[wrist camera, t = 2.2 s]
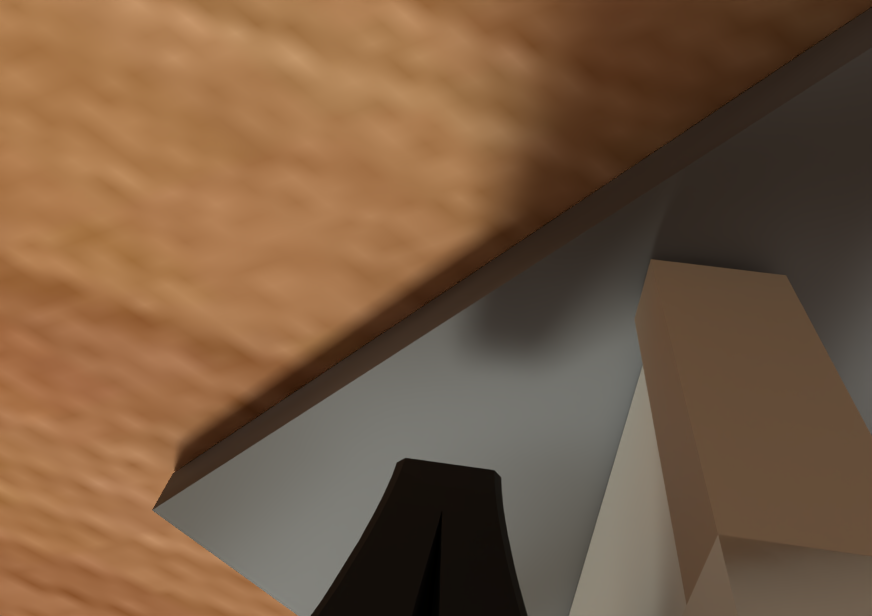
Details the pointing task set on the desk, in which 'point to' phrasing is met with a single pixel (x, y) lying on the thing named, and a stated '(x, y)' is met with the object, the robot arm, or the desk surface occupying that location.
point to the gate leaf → (733, 462)
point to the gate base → (558, 343)
